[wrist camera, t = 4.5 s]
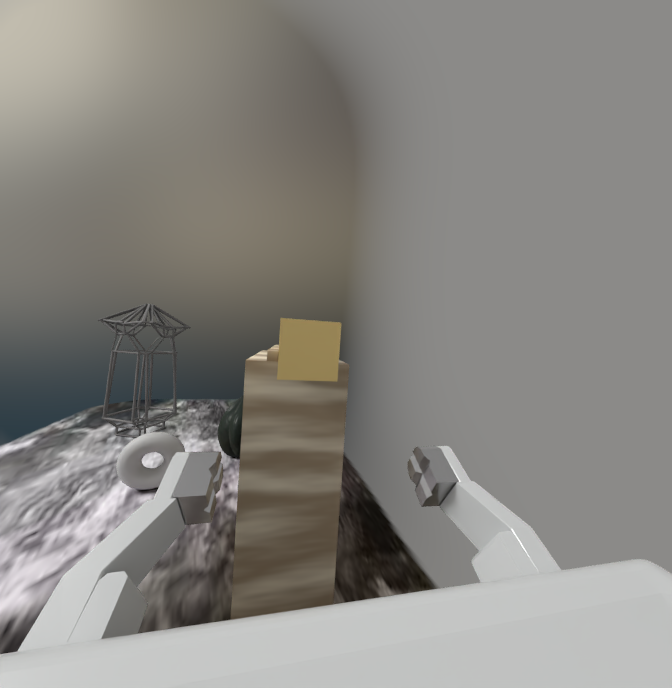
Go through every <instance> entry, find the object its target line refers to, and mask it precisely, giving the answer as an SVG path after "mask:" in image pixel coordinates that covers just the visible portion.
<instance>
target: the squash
mask: <svg viewBox="0 0 672 688" xmlns="http://www.w3.org/2000/svg"><path fill="white" fill-rule="evenodd" d="M243 399H244V395H243V396H242V397H241V398H239V399H238V400H237V401H236V402H234V403H233V404H232V405H231V406H230V407H229V408H228V409H227V411H226V412H225V413H224V415H223V417H222V419H221V422H220V424H219V428H218V440H219V443H220V446H221V448H222V450H223V451H224V453H226V454H227V455H229V456H232V457H237V456H238V457H240V450H241V433H242V416H243Z"/></svg>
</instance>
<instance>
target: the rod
mask: <svg viewBox="0 0 672 688" xmlns="http://www.w3.org/2000/svg"><path fill="white" fill-rule="evenodd" d="M340 333H341V323H338V322H325V321H313V320H299V319H287V318H281V323H280V339H279V356H278V372H277V380H305V381H336V382H337V379H338V364H339V348H340Z"/></svg>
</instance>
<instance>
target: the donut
mask: <svg viewBox="0 0 672 688" xmlns="http://www.w3.org/2000/svg"><path fill="white" fill-rule="evenodd" d="M150 452H158V453H160V454H161V455H162V456H163V458H164V461H163V463H162V464H161V465H160V466H159V467H157V468H146V467H145V466H143V464H142V461H141V460H142V458H143V456H144V455H145V454H147V453H150ZM176 452H185V449H184V446H183V444H182V443H181V441H180V440H179V439H178V438H176V437H175V436H174V435H171V434H168V433H165V432H152V433H147V434H143V435H141V436H139V437H137V438H135V439H133V440H132V441H131V442H130V443H128V444H127V445H126V446H125V447H124V448H123V450H122V451H121V453H120V454H119V456H118V460H117V464H116V469H117V475H118V476H119V478H120V479H121V481H122V482H123V483H124V484H126V485H127V486H129V487H131V488H135V489H139V490H147V489H153V488H157V487H159V486H160V483H161V481H162V479H163V477H164V475H165V473H166V470H167V468H168V466H169V464H170V462H171V460H172V457H173V456H174V455H175V454H176Z"/></svg>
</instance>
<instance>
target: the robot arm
mask: <svg viewBox="0 0 672 688" xmlns="http://www.w3.org/2000/svg"><path fill="white" fill-rule="evenodd" d="M413 453H414V455H413V456H412V457H410V459H409V461H408V472H409V476H410V479H411V480H412V481H413V482H414V483H415V484H416V489H415V491H416V494H417V496H418V499H419V501H420V504H421V506H422V507H423V506H440V508H441V509H442V510H443V511H444V512H445V514H447V516H448V517H449V518H450V519H451V520H452V521H453V522H454V524H455V525H456V526H457V527H458V528H459V529H460V530H461V531H462V532H463V534H464V535H465V536H466V537H467V538H468V539H469V540H470V541H471V542H472V544H473V545H474V546H475V547H476V548H477V549H478V550H479V552H478V553H477V554H476V555H475V556H474V557H473V558H472V561H471V562H472V565H473V567H474V569H475V571H476V573H477V576H478V578H479V580H480V583H473V584H467V585H460V586H453V587H447V588H440V589H433V590H426V591H420V592H413V593H406V594H400V595H393V596H386V597H380V598H373V599H366V600H360V601H353V602H346V603H340V604H333V605H326V606H319V607H313V608H306V609H299V610H293V611H286V612H279V613H273V614H266V615H259V616H253V617H246V618H239V619H233V620H226V621H219V622H212V623H206V624H199V625H192V626H186V627H179V628H172V629H166V630H159V631H152V632H146V633H139V634H138V632H139V629H140V626H141V623H142V620H143V617H144V614H145V611H146V608H147V605H148V603H147V601H146V599H145V598H144V596H143V595H142V594H141V592H140V591H139V590H138V588H137V586H138V585H139V584H140V583H141V581H142V580H143V579H144V578H145V576H146V575H147V574H148V573H149V571H150V570H151V569H152V568H153V567H154V565H155V564H156V563H157V562H158V560H159V559H160V558H161V557H162V555H163V554H164V553H165V552H166V550H167V549H168V548H169V547H170V545H171V544H172V543H173V542H174V540H175V539H176V538H177V537H178V536H179V534H180V533H181V532H182V531H183V529H184V528H185V525H191V524H201V523H211V522H212V518H213V514H214V511H215V507H216V503H217V502H216V496H215V494H216V493H217V492H218V491H219V490H220V487H221V483H222V476H223V464H222V463H220V461H221V458H222V456H221V452H176V454H175V455H174V456H173V457H172V460H171V462H170V464H169V466H168V468H167V470H166V473H165V475H164V477H163V479H162V481H161V483H160V486H159V488H158V490H157V492H156V494H155V496H154V499H150V500H147V501H146V502H145V503H144V504H143V505H142V506H141V507H140V508H138V509H137V510H136V511H135V512H134V513H133V514H132V515H131V516H129V517H128V518H127V519H126V520H125V521H124V522H123V523H122V524H120V525H119V526H118V527H117V528H116V529H115V530H114V531H113V532H112V533H110V534H109V535H108V536H107V537H106V538H105V539H104V540H103V541H101V542H100V543H99V544H98V545H97V546H96V547H95V548H94V549H92V550H91V551H90V552H89V553H88V554H87V555H86V556H85V557H84V558H82V559H81V560H80V561H79V562H78V563H77V564H76V565H75V566H73V567H72V568H71V569H70V570H69V571H68V572H67V573H66V574H64V575H63V577H62V578H61V580H60V582H59V583H58V585H57V587H56V588H55V590H54V592H53V593H52V595H51V597H50V598H49V600H48V602H47V603H46V605H45V606H44V608H43V610H42V611H41V613H40V615H39V616H38V618H37V620H36V621H35V623H34V625H33V626H32V628H31V630H30V631H29V633H28V635H27V636H26V638H25V639H24V641H23V643H22V644H21V646H20V648H19V649H18V651H17V652H12V653H5V654H0V688H672V574H671V573H670V572H668V571H667V570H665V569H663V568H661V567H660V566H658V565H656V564H654V563H652V562H650V561H647V560H644V559H633V560H627V561H620V562H614V563H607V564H601V565H594V566H587V567H581V568H574V569H567V570H561V569H560V568H559V566H558V565H557V563H556V562H555V561H554V559H553V558H552V556H551V555H550V553H549V552H548V550H547V549H546V548H545V546H544V545H543V543H542V542H541V541H540V539H539V537H538V536H537V535H536V533H535V532H534V530H533V529H532V528H531V527H530V526H529V525H528V524H526V523H525V522H524V521H523V520H521V519H520V518H519V517H518V516H517V515H515V514H514V513H513V512H511V511H510V510H509V509H508V508H507V507H505V506H504V505H503V504H502V503H500V502H498V500H497V499H495V498H494V497H493V496H491V495H490V494H489V493H488V492H487V491H485V490H484V489H483V488H482V487H480V486H479V485H478V484H476V483H475V482H474V481H470V479H469V478H468V476H467V474H466V472H465V471H464V469H463V467H462V466H461V464H460V463H459V461H458V459H457V458H456V456H455V454H454V453H453V451H452V450H451V448H450V447H448V446H423V447H416V448H415V449H414V451H413Z"/></svg>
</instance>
